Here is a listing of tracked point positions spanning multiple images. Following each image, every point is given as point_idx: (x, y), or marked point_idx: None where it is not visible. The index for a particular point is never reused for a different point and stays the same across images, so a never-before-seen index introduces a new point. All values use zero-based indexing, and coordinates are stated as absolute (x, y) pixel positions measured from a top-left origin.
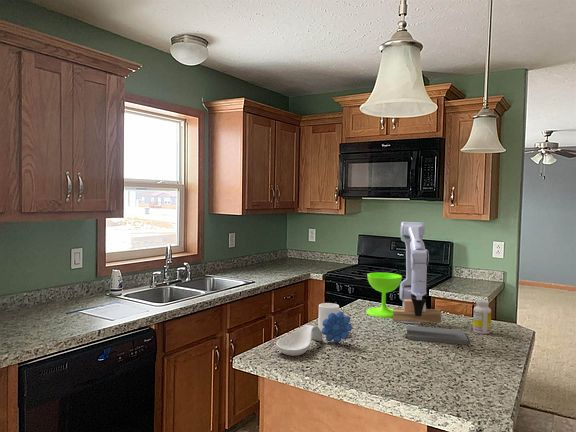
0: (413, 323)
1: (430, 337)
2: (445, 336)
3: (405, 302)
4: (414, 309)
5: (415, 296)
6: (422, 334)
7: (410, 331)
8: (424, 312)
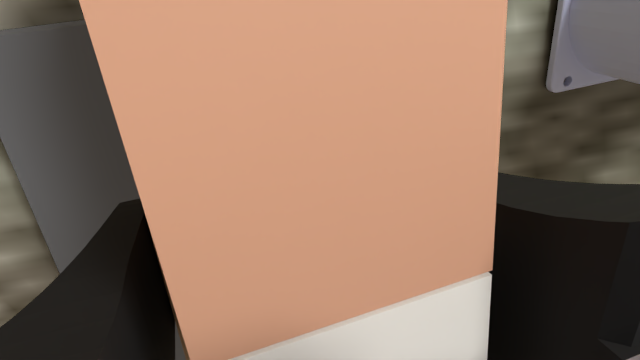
0: (553, 33)
1: (59, 270)
2: (175, 354)
3: (94, 42)
4: (74, 259)
5: (583, 335)
6: (127, 186)
7: None
8: (188, 356)
